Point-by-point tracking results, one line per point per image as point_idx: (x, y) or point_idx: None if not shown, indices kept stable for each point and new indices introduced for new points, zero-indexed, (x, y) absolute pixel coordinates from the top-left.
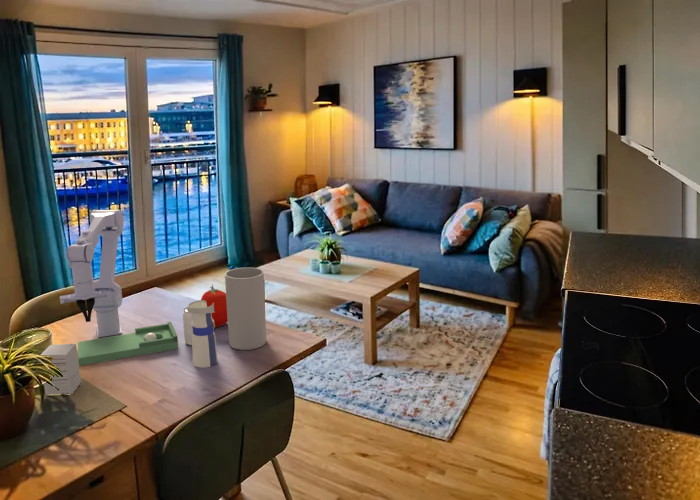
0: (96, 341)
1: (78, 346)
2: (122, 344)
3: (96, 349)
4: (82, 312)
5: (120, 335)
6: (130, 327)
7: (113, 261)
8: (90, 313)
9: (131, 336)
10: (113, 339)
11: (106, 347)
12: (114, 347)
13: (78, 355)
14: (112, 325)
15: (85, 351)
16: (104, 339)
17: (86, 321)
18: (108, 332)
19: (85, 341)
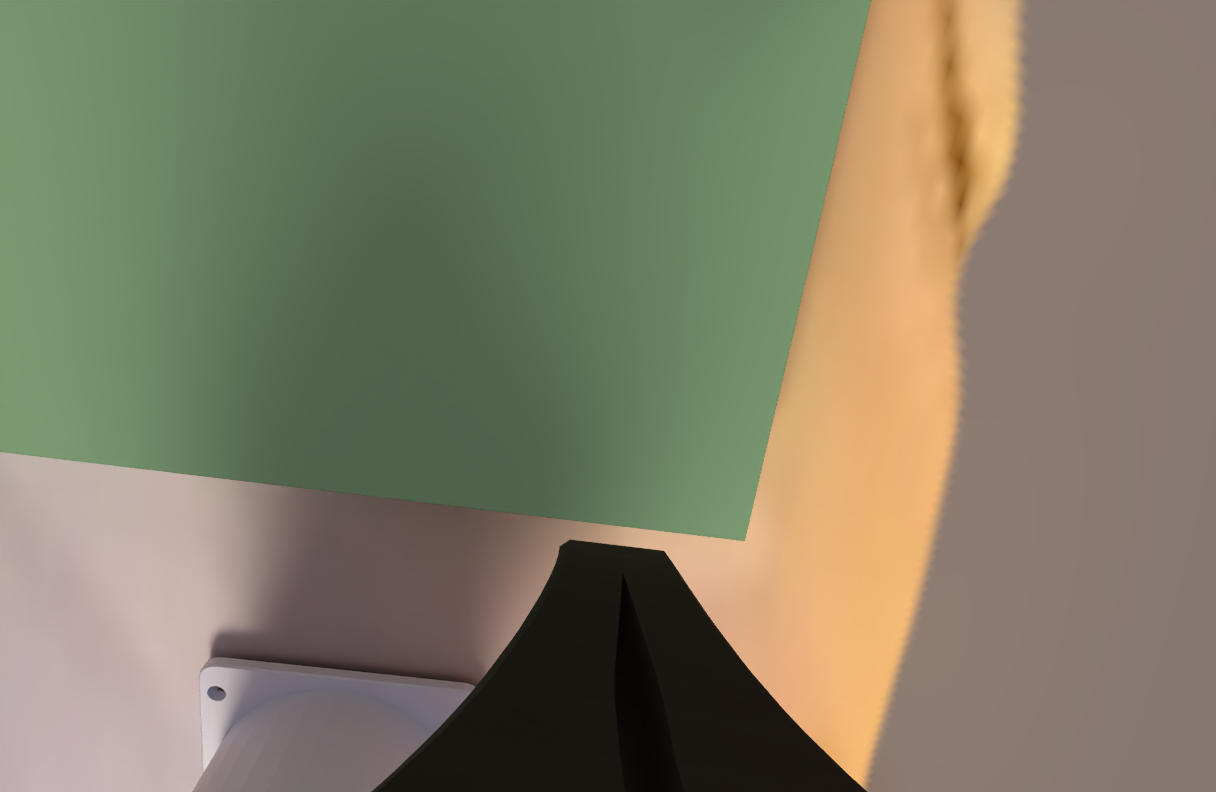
0: (523, 422)
1: (774, 379)
2: (164, 68)
3: (572, 102)
4: (808, 738)
5: (184, 460)
6: (109, 782)
7: None
8: (528, 654)
9: (21, 333)
10: (290, 365)
11: (418, 95)
12: (298, 13)
13: (861, 9)
14: (256, 774)
15: (733, 122)
16: (411, 434)
17: (660, 557)
18: (345, 708)
19: (655, 504)
